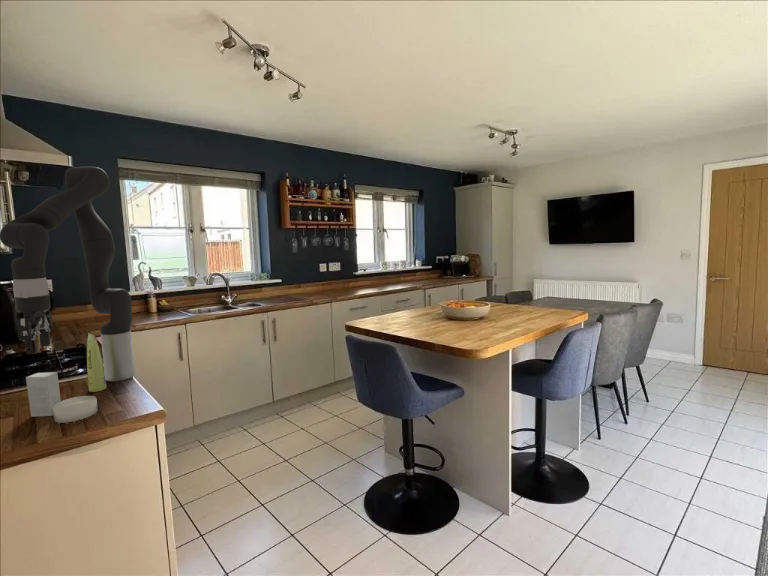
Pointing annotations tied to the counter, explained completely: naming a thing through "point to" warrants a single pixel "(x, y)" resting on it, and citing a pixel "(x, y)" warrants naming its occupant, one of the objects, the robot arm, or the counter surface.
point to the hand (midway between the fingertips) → (38, 349)
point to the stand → (75, 409)
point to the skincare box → (43, 393)
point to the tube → (95, 366)
